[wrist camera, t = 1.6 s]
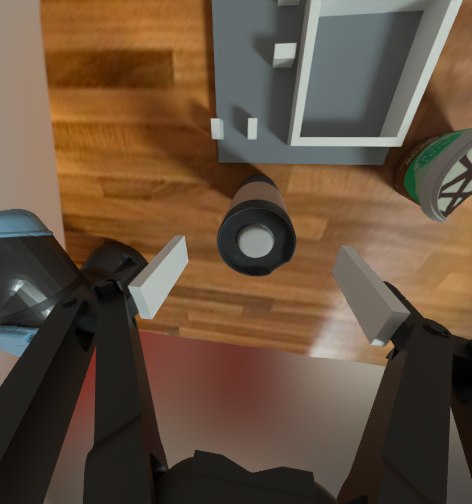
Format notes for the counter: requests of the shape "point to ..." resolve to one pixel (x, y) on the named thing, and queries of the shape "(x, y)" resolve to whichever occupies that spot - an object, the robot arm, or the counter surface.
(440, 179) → the food container
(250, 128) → the clips
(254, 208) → the travel mug
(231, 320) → the counter surface
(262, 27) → the grey fixture board
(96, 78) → the counter surface
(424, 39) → the end holder
